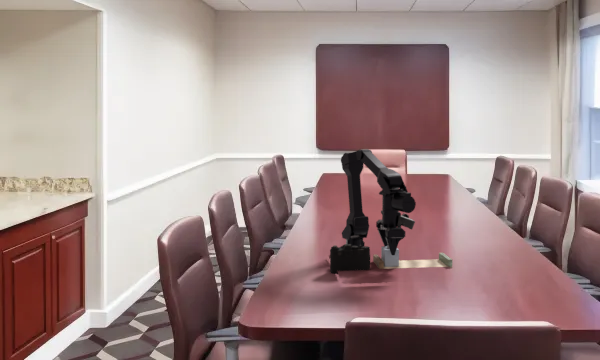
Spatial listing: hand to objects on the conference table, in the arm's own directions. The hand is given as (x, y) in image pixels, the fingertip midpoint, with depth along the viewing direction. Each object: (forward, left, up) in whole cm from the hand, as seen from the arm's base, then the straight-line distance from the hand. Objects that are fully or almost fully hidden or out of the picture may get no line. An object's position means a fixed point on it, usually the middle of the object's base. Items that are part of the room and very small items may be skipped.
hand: (389, 251), depth 198 cm
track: (+8, 0, -6) cm, 10 cm away
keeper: (0, 0, -4) cm, 5 cm away
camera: (-15, -2, -6) cm, 16 cm away
